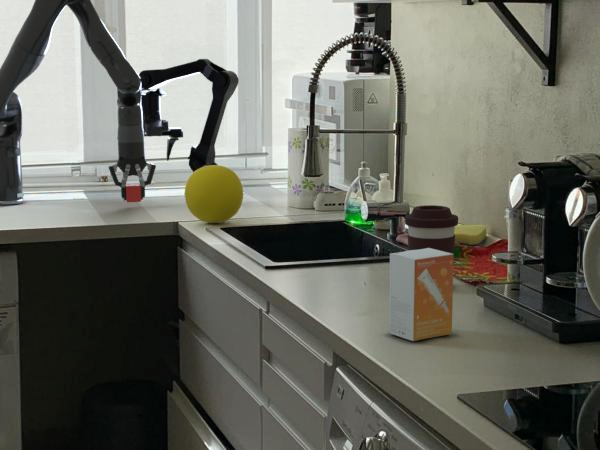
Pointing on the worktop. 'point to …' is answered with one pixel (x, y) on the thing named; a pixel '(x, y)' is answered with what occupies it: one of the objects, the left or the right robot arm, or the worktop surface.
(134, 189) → the red block
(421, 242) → the coffee cup
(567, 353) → the worktop surface
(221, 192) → the toy
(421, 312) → the small box
